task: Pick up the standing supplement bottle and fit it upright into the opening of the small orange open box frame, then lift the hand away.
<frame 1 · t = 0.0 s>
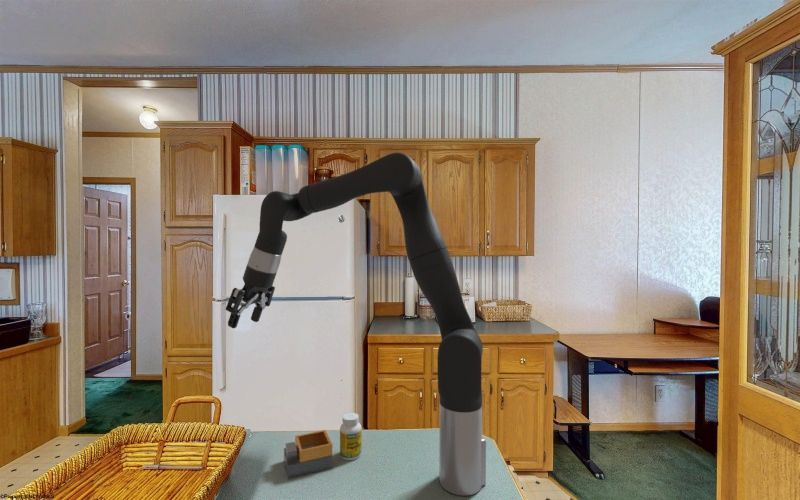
hand: (243, 323, 94), 31 cm above the table, tool tilted 20°, fingers open, 8 cm apart
orange open box frame: (307, 464, 84), on the table
supplement bottle: (350, 455, 89), on the table
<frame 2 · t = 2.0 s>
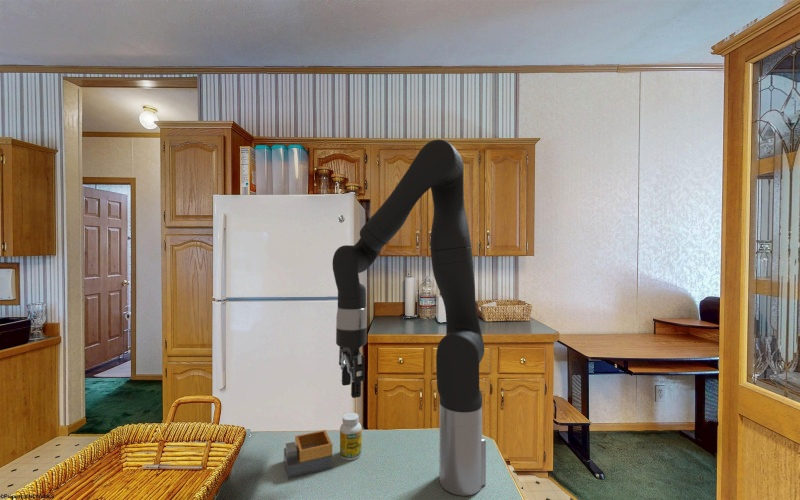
hand: (350, 390, 89), 16 cm above the table, tool pointing down, fingers open, 8 cm apart
nothing on the table moved.
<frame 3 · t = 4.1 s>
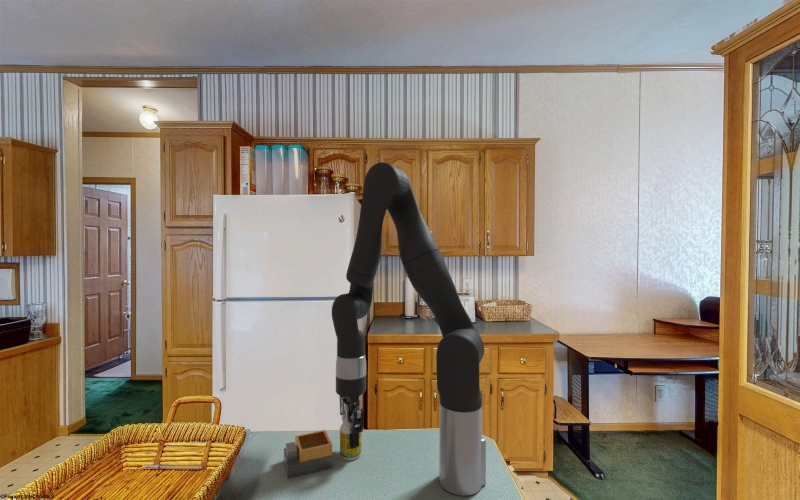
hand: (350, 440, 89), 3 cm above the table, tool pointing down, fingers closed on supplement bottle, 5 cm apart
supplement bottle: (350, 455, 89), on the table, touching gripper
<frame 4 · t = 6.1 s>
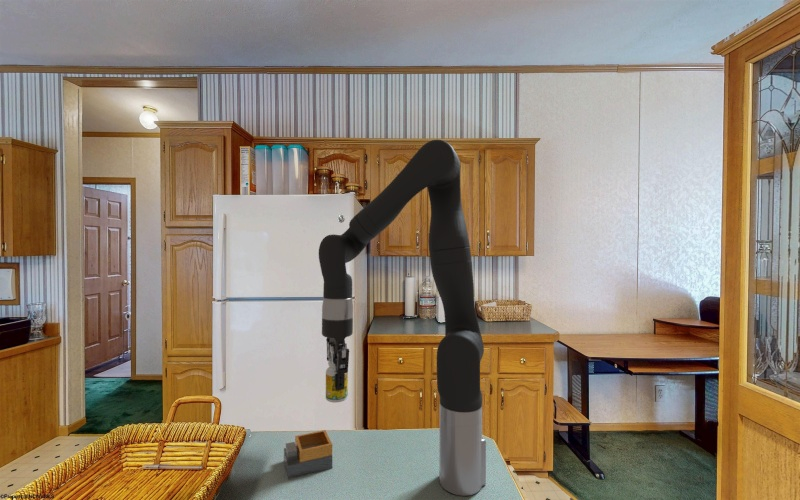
hand: (336, 384, 88), 18 cm above the table, tool pointing down, fingers closed on supplement bottle, 5 cm apart
supplement bottle: (336, 399, 88), point 14 cm above the table, touching gripper
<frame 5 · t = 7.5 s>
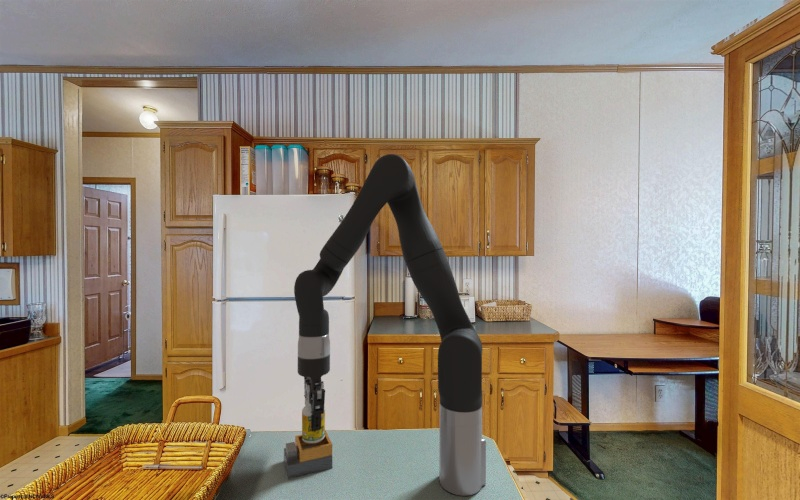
hand: (313, 423, 85), 9 cm above the table, tool pointing down, fingers closed on supplement bottle, 5 cm apart
supplement bottle: (313, 439, 85), point 6 cm above the table, touching gripper
when the fingers open (7 cm above the table, at t = 8.4 s): supplement bottle stays where it is, resting on orange open box frame.
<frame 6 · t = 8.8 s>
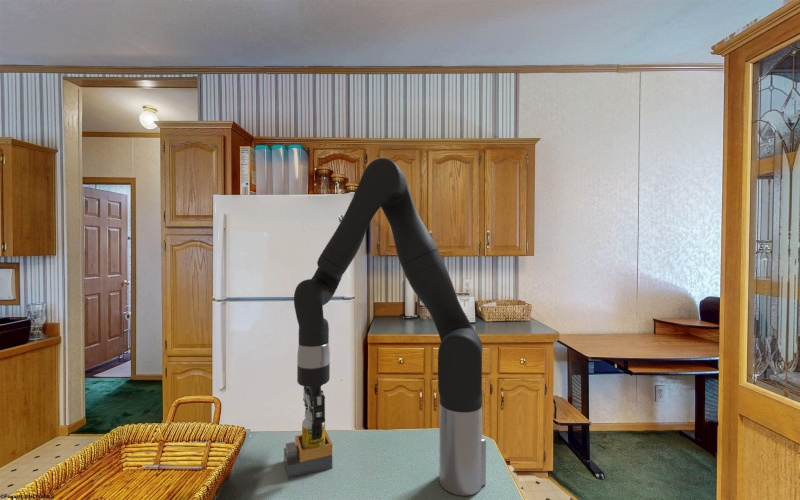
hand: (313, 430, 85), 8 cm above the table, tool pointing down, fingers open, 8 cm apart
supplement bottle: (313, 451, 85), point 3 cm above the table, touching orange open box frame
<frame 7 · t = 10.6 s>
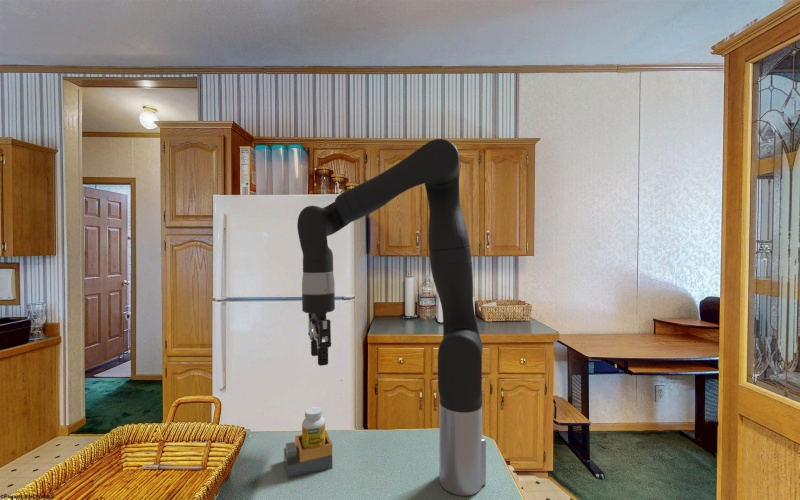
hand: (319, 359, 84), 25 cm above the table, tool pointing down, fingers open, 8 cm apart
nothing on the table moved.
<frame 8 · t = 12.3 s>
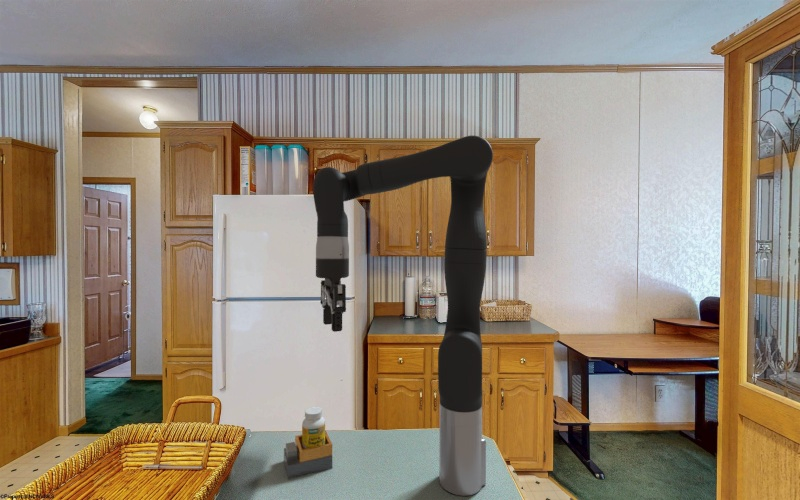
hand: (332, 327, 82), 33 cm above the table, tool pointing down, fingers open, 8 cm apart
nothing on the table moved.
at the end: supplement bottle 0.1 cm from the target spot on the orange open box frame, point 2.8 cm above the orange open box frame's base; supplement bottle tilted 0°; the gripper is holding nothing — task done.
